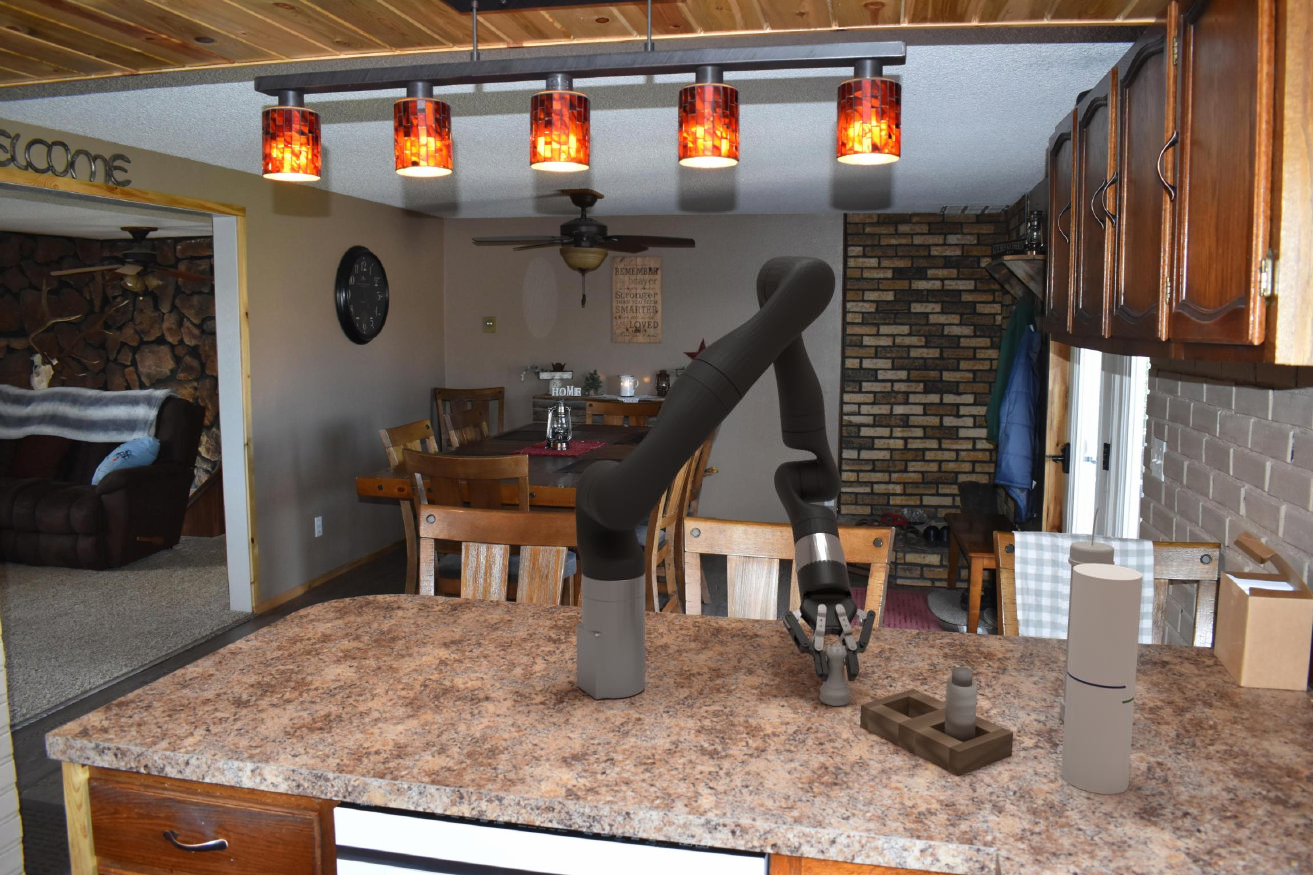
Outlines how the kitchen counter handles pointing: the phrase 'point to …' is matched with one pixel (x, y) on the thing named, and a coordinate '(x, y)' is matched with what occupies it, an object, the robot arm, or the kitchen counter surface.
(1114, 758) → the cylindrical container
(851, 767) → the kitchen counter surface
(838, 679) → the rook chess piece
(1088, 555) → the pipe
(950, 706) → the holder
